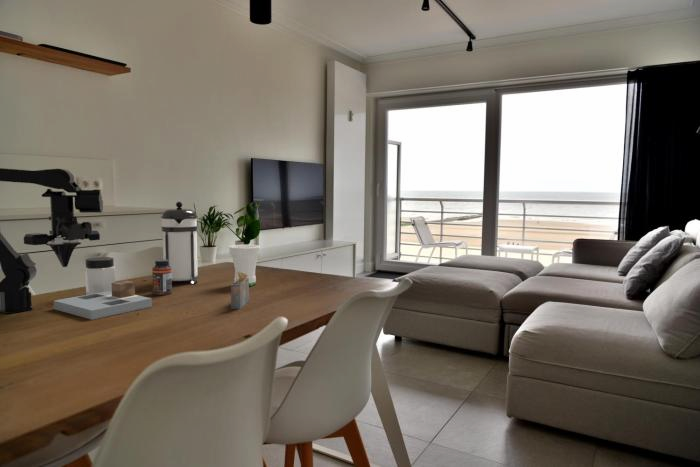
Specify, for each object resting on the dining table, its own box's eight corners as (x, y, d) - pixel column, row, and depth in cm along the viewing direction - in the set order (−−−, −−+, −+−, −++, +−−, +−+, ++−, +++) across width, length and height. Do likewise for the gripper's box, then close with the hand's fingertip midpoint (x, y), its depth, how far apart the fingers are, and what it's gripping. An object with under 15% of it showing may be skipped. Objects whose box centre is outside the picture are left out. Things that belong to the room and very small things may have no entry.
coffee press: (212, 280, 187) (211, 201, 185) (177, 287, 174) (175, 202, 171) (181, 276, 196) (180, 200, 194) (146, 282, 183) (144, 201, 180)
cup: (226, 283, 183) (226, 245, 182) (256, 281, 188) (256, 244, 186) (233, 288, 173) (232, 248, 172) (264, 286, 178) (264, 247, 176)
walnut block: (120, 298, 146) (120, 284, 145) (111, 296, 148) (111, 282, 148) (135, 295, 150) (134, 282, 149) (126, 293, 152) (125, 280, 152)
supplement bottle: (148, 294, 163) (147, 260, 162) (163, 291, 168) (162, 258, 167) (161, 296, 160) (160, 261, 159) (175, 293, 165) (175, 259, 164)
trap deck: (92, 319, 131) (91, 310, 131) (53, 309, 142) (53, 300, 142) (152, 306, 146) (151, 298, 146) (113, 297, 157) (113, 290, 157)
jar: (81, 298, 156) (79, 260, 155) (91, 292, 164) (89, 257, 163) (111, 297, 157) (109, 260, 156) (119, 292, 165) (118, 256, 164)
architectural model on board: (239, 301, 156) (239, 271, 155) (248, 301, 156) (248, 271, 155) (229, 310, 144) (229, 277, 143) (239, 310, 144) (239, 277, 143)
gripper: (41, 215, 129) (44, 274, 131) (109, 212, 145) (111, 265, 146) (21, 213, 135) (24, 270, 137) (88, 211, 151) (90, 262, 152)
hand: (64, 266), depth 143 cm, fingers closed
